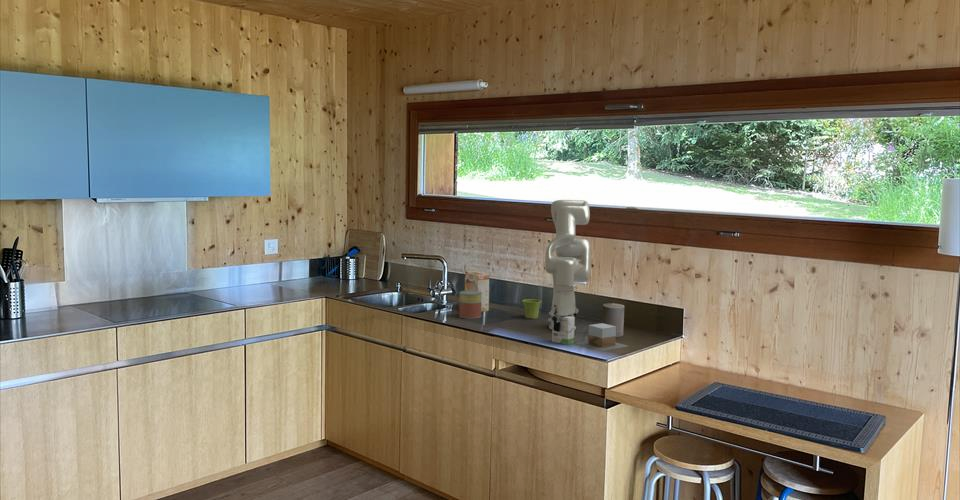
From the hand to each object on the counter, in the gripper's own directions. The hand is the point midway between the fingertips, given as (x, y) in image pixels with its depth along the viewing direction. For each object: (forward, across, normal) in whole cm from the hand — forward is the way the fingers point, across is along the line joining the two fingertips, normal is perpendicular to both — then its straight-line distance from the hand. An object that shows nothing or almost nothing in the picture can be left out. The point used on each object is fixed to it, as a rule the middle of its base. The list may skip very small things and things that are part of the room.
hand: (563, 329), depth 307 cm
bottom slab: (+5, -11, +12) cm, 17 cm away
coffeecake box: (+6, -13, -81) cm, 82 cm away
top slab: (+1, -11, +12) cm, 16 cm away
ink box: (+6, 0, 0) cm, 6 cm away
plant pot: (+6, -23, -48) cm, 54 cm away
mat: (+6, -11, +12) cm, 17 cm away
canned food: (+6, +1, -67) cm, 67 cm away
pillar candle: (+6, -29, +1) cm, 30 cm away
